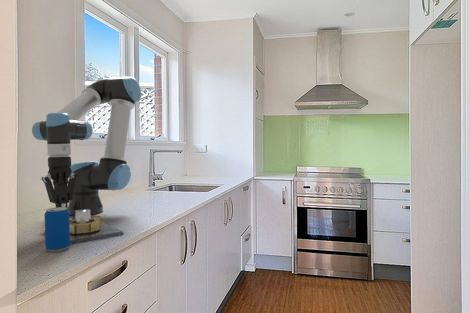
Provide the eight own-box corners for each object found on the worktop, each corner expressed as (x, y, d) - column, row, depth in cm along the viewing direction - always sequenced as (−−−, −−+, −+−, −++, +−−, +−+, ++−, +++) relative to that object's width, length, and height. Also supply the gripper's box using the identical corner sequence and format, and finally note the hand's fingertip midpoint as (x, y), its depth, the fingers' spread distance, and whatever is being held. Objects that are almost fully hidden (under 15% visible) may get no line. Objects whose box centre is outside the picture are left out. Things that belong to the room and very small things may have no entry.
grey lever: (107, 227, 123) (107, 215, 123) (82, 234, 113) (82, 222, 113) (61, 222, 132) (61, 211, 132) (34, 228, 122) (34, 217, 122)
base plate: (44, 233, 122) (43, 210, 121) (102, 224, 134) (102, 203, 134) (59, 246, 106) (58, 219, 106) (123, 234, 119) (122, 210, 119)
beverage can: (46, 247, 105) (45, 208, 104) (70, 245, 107) (69, 206, 107) (44, 253, 99) (43, 211, 98) (69, 250, 101) (68, 209, 101)
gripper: (48, 157, 118) (51, 226, 119) (82, 155, 130) (84, 218, 131) (35, 157, 122) (38, 224, 123) (69, 155, 133) (71, 216, 134)
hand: (62, 221), depth 127 cm, fingers closed
